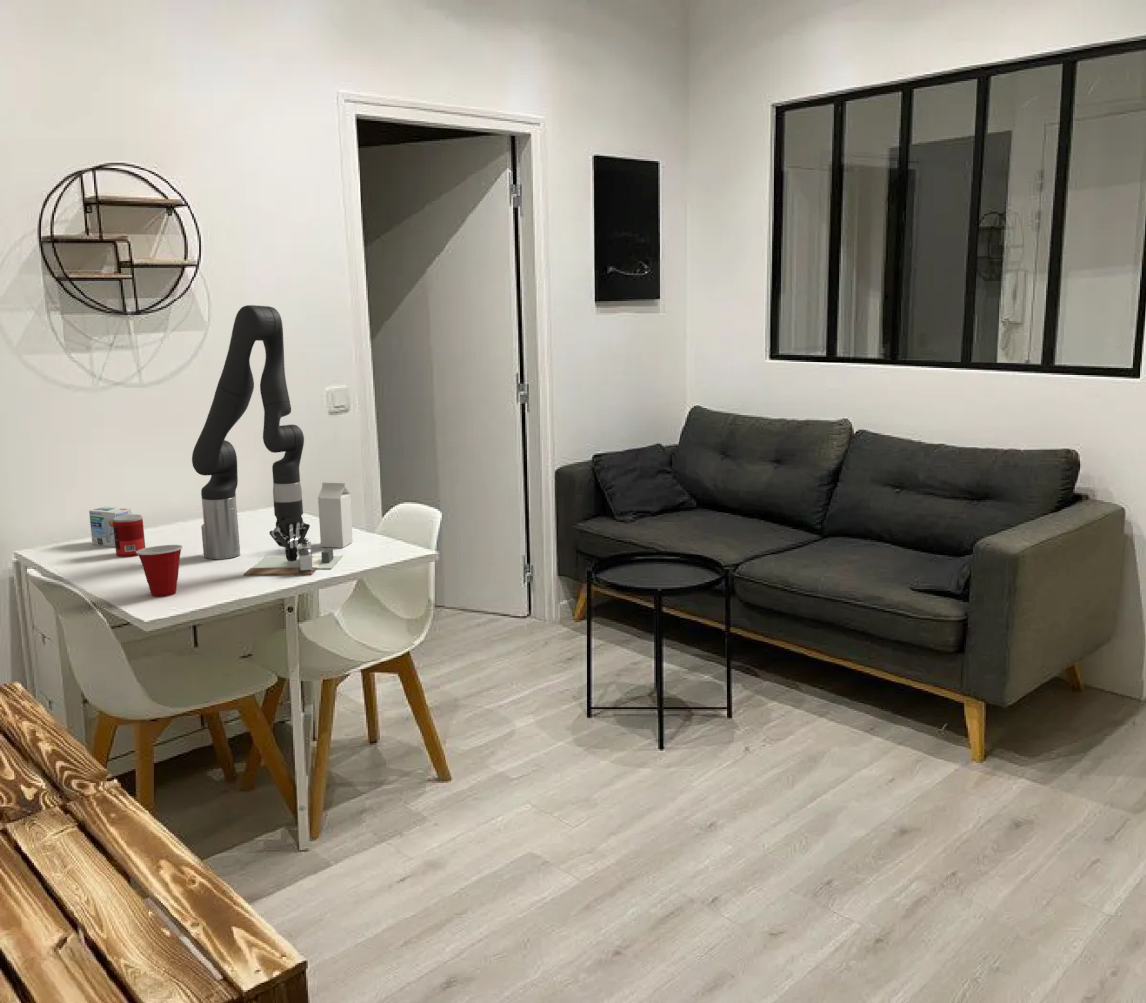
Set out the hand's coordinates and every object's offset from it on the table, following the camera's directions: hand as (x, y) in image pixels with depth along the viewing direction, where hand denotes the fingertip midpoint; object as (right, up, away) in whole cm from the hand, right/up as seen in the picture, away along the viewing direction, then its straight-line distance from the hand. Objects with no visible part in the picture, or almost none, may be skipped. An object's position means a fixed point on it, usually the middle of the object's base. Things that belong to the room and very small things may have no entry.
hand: (292, 560), depth 275 cm
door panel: (0, -1, +4) cm, 4 cm away
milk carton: (+6, +3, +25) cm, 26 cm away
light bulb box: (-63, +3, +30) cm, 69 cm away
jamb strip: (-2, -3, -5) cm, 6 cm away
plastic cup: (-26, -7, -24) cm, 36 cm away
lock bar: (+4, -1, 0) cm, 4 cm away
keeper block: (+9, -1, +5) cm, 10 cm away
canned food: (-52, +1, +17) cm, 54 cm away
